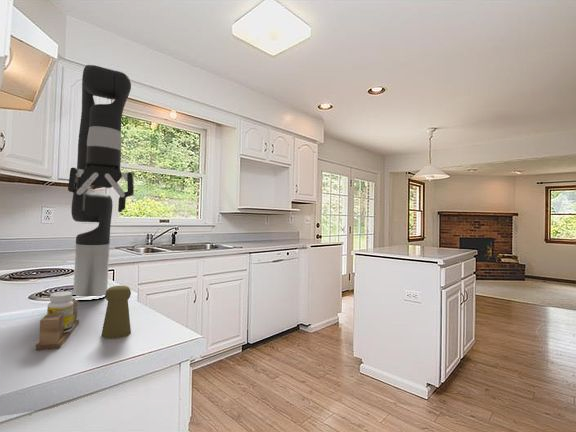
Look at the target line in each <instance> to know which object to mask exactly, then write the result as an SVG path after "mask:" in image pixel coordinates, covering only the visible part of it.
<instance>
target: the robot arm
mask: <svg viewBox="0 0 576 432" xmlns="http://www.w3.org/2000/svg"><path fill="white" fill-rule="evenodd" d="M81 79H82V80H81V112H80V113H81V116H80V123H79V131H78V141H77V142H78V143H77V161H76V162H77V164H76V167H70V171H69V176H68V177H69V179H68V186H67V190H68V191H67V192H71V193H72V200H71V206H70V207H71V212H70V213H71V217H72V220H73V221H75V222H78V223H98V226H97V227H96V228H94V229H92V230H89V231H86V232H83V233H79V234H77V235H76V237H75V247H74V248H75V252H74V253H75V255H74V271H73V273H74V275H73V277H74V278H73V291H72V295H73V294H74V295H76V296H102V295H106V291H107V289H108V283H109V282H108V281H109V280H108V279H109V267H110V266H109V262H110V242H111V239H110V238H111V224H112V214H113V205H114V204H113V199H112V197H111V195H110V194H106V193H92V192H91V193H89V192H88V191H89V190H90V189H92V187H95V188H107V189H110V188H113V189H114V190H115V192H116V193H117V194H118V196H119V197H118V204H117V205H118V207H117V208H118V211H117V212H118V213H123V210H126V202H127V201H126V199H127V198H128V197H133V196H134V194H135V192H134V191H135V190H134V186H135V183H134V174H133V173H132V172H122V171H121V161H122V159H121V158H122V118H123V117H122V116H123V112H124V109H125V106H126V102H127V100H128V97H129V95H130V93H131V89H132V82H131V79H130V78H129V76H128V74H126V72H122V71H118V70H115V69H111V68H107V67H103V66H99V65H93V64H86V65H85V66H84V68H83V71H82V77H81ZM94 97H99V98H102V99H107V100H114V101H113V102H111V103H98V104H96V103H95V98H94ZM122 178H123V179H124V180H125V182H126V183H127V191H124V190H123V189H122V187H121V185H120V184H119V183H118V182H119V181H120V180H121V179H122Z"/></svg>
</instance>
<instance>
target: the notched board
mask: <svg viewBox="0 0 576 432" xmlns="http://www.w3.org/2000/svg"><path fill="white" fill-rule="evenodd" d="M71 301H73V304H74V305H73V324H72V330H71V331H69V332H66V333H63V331H64V313H52V314H47V313H46V315H44V316H43V317H42V318H41V319H40V320H39V334H38V335H39V336H38V343H37V344H36V345H35V351H43V350H45V351H46V350H55V349H56V350H58V349H59V350H60V348H61V347H62V346H63V345H64V343H65V342H66V340H68V338H69V337H70V335H71V334H72V333H73V332H74V330H75V329H76V328H77V327H78V326H79V324H80V319H78V305H79V303H78V302H79V301H78V300H74V299H71Z"/></svg>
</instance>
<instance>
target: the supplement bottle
mask: <svg viewBox="0 0 576 432" xmlns="http://www.w3.org/2000/svg"><path fill="white" fill-rule="evenodd" d="M71 300H73V292H71V291H57V292H53V293H50V296H49V302H48V304H47V312H46V315H47V314H52V313H64V331H63V333H66V332H69V331H71V330H72V324H73V305H74V304H73V301H71Z"/></svg>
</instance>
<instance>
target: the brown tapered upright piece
mask: <svg viewBox="0 0 576 432" xmlns="http://www.w3.org/2000/svg"><path fill="white" fill-rule="evenodd" d="M131 294H132V291H131V288H130V287H129V286H127V285H113V286H110V287H107V291H106V295H105V296H106V297H105V300H106V301H107V306H106V311H105V314H104V320H103V325H102V329H101V338H103V339H108V340H114V339H122V338H124V337H127V336H129V335H131V331H132V329H131V322H130V321H131V319H130V307H129V299H130V298H131Z"/></svg>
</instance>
